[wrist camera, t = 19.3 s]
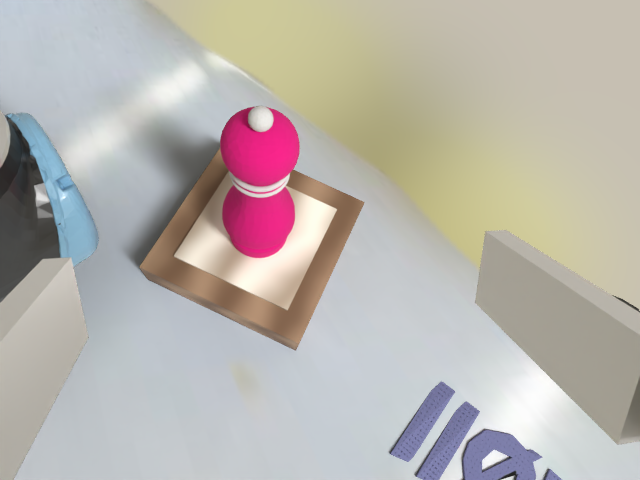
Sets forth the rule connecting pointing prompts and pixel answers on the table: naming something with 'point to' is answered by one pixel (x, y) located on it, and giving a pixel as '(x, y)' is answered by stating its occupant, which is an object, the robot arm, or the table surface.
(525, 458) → the signage
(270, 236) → the pepper mill
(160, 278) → the walnut stand
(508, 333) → the robot arm
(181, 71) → the table surface
